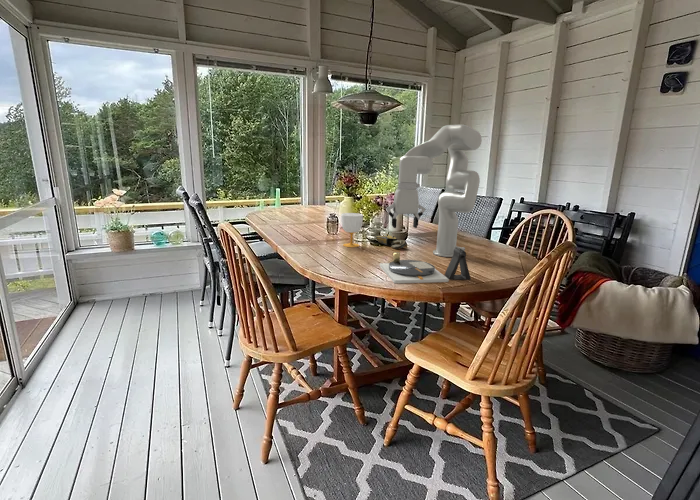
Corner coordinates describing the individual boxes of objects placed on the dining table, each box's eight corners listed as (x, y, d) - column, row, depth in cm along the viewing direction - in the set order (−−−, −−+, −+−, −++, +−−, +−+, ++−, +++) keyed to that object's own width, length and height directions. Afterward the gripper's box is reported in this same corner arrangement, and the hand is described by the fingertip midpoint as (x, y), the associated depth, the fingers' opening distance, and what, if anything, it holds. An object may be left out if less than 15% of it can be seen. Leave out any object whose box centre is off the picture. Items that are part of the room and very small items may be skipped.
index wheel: (391, 261, 172) (392, 249, 170) (435, 265, 167) (436, 253, 166) (385, 273, 154) (386, 260, 152) (433, 278, 149) (434, 264, 148)
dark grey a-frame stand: (465, 275, 159) (468, 247, 156) (470, 280, 153) (473, 251, 150) (444, 275, 158) (446, 247, 156) (448, 280, 153) (451, 250, 150)
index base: (426, 265, 173) (427, 261, 173) (448, 281, 150) (448, 277, 150) (379, 266, 170) (379, 262, 169) (394, 283, 147) (394, 279, 146)
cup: (341, 242, 214) (341, 212, 210) (362, 243, 213) (363, 213, 209) (339, 247, 202) (340, 215, 198) (362, 248, 202) (363, 216, 198)
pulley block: (392, 239, 196) (365, 229, 222) (390, 250, 197) (363, 239, 223) (414, 241, 202) (386, 231, 229) (412, 252, 203) (384, 241, 230)
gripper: (423, 186, 164) (421, 225, 168) (384, 185, 161) (382, 226, 165) (430, 187, 157) (427, 229, 161) (389, 187, 154) (387, 229, 158)
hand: (404, 227), depth 163 cm, fingers open, 8 cm apart
